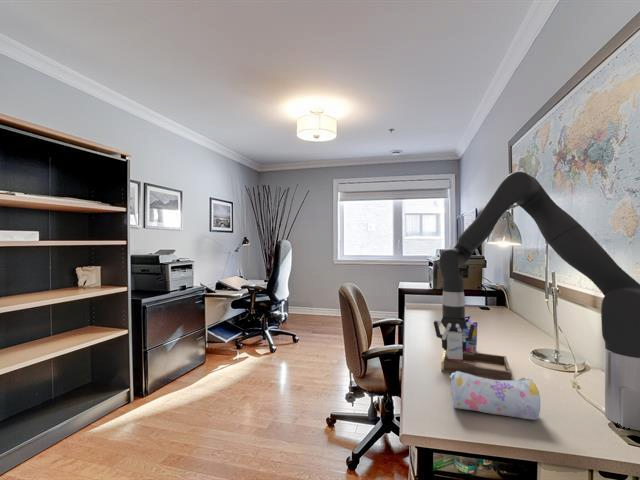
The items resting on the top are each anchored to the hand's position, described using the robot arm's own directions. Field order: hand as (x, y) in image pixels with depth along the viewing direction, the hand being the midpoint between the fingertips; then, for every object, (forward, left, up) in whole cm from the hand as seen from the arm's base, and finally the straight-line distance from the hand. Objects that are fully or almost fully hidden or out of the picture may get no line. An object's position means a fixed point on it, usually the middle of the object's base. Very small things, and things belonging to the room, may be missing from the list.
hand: (454, 350), depth 118 cm
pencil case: (-31, -10, -6) cm, 33 cm away
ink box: (0, 0, -5) cm, 5 cm away
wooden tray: (0, -7, -5) cm, 9 cm away
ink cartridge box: (+18, -3, -6) cm, 19 cm away
